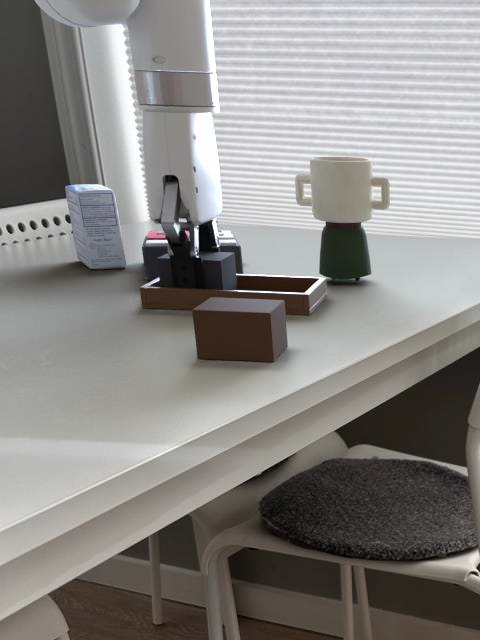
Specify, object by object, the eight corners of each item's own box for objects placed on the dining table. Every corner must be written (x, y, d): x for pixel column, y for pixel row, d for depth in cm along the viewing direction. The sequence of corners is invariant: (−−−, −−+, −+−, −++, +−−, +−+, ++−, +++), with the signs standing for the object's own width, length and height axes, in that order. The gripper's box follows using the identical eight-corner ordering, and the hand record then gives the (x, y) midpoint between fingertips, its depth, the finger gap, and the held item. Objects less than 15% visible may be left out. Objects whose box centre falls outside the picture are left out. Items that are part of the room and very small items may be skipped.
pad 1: (161, 299, 98) (156, 258, 96) (178, 289, 103) (173, 249, 101) (224, 301, 98) (220, 260, 96) (238, 291, 102) (234, 252, 100)
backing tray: (141, 308, 96) (139, 287, 95) (172, 290, 105) (169, 271, 104) (310, 315, 96) (308, 294, 95) (327, 296, 104) (326, 277, 103)
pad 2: (197, 359, 80) (191, 309, 78) (215, 343, 85) (210, 296, 83) (273, 362, 80) (270, 313, 78) (287, 346, 84) (284, 299, 82)
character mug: (395, 277, 116) (394, 158, 109) (385, 288, 110) (383, 162, 103) (307, 273, 116) (301, 154, 110) (293, 283, 110) (285, 158, 104)
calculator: (234, 228, 122) (240, 238, 109) (237, 264, 124) (244, 278, 111) (144, 228, 119) (140, 239, 106) (149, 265, 121) (145, 280, 108)
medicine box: (127, 268, 115) (115, 190, 111) (89, 270, 113) (75, 190, 109) (113, 258, 121) (101, 183, 117) (76, 260, 119) (63, 184, 115)
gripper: (167, 92, 98) (189, 276, 107) (104, 93, 83) (135, 307, 93) (239, 95, 98) (255, 279, 107) (189, 96, 83) (212, 310, 93)
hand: (199, 290), depth 100 cm, fingers closed on pad 1, 5 cm apart
